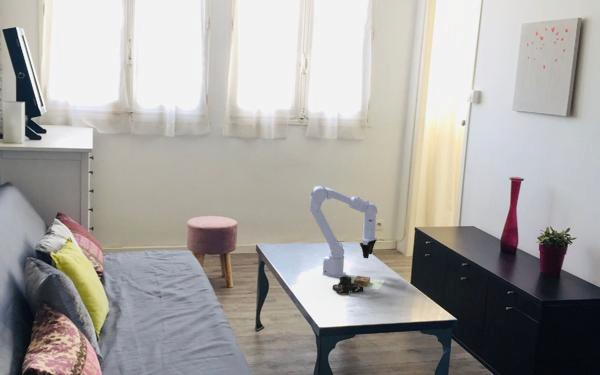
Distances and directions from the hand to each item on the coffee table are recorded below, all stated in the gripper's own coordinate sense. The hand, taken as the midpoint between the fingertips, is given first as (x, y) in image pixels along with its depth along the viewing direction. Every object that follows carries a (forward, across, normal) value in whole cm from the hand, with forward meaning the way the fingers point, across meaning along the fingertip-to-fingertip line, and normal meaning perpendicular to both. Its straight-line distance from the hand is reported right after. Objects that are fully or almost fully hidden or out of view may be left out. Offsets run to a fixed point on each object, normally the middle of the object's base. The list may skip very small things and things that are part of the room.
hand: (367, 256), depth 302 cm
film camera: (+10, -26, +3) cm, 28 cm away
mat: (+10, -12, -1) cm, 16 cm away
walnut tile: (+8, -10, -1) cm, 13 cm away
